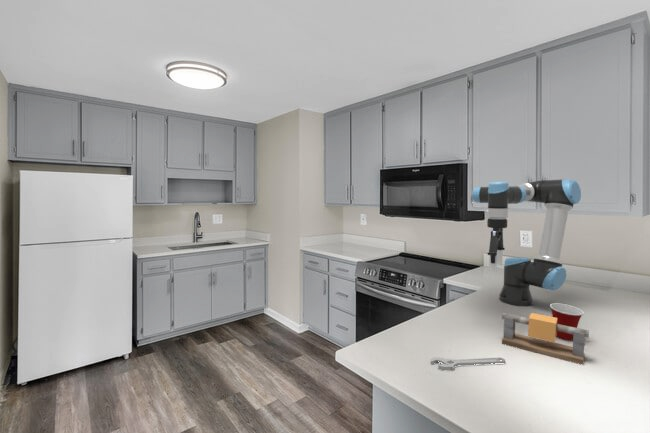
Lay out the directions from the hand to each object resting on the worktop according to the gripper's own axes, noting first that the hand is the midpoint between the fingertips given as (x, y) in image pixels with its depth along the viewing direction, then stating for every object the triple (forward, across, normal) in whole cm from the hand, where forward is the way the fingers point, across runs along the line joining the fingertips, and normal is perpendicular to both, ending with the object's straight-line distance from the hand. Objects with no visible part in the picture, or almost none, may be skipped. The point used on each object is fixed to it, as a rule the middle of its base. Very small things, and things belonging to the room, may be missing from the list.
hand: (495, 267), depth 141 cm
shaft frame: (+24, +16, +18) cm, 34 cm away
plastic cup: (+25, -1, +25) cm, 35 cm away
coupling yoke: (+20, +16, +18) cm, 31 cm away
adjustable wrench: (+24, +44, 0) cm, 51 cm away
